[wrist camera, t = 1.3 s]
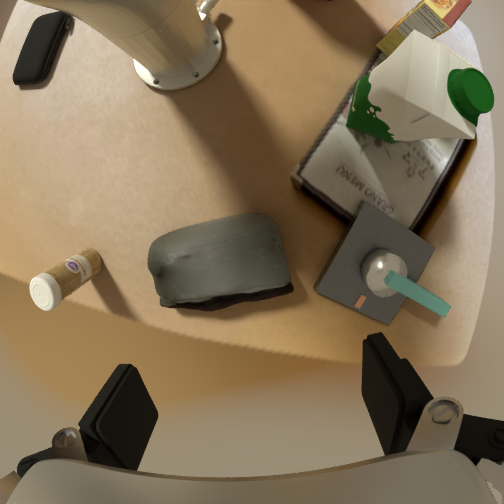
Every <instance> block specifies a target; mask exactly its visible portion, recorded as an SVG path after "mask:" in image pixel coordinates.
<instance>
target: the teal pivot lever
mask: <svg viewBox="0 0 504 504" xmlns="http://www.w3.org/2000/svg"><path fill="white" fill-rule="evenodd" d="M361 274H362V279H363V281H364V283H365V284H366V285H367V286H368V288H369V289H370V290H371V291H372V292H373V293H374V294H375V295H377V296H379V297H389V296H391V295H394V294H395V293H397V292H400V293H401V294H403V295H405V296H407V297H409V298H410V299H412V300H414V301H416V302H418V303H419V304H421V305H423V306H425V307H426V308H428V309H430V310H432V311H434V312H435V313H437V314H439V315H441V316H442V317H445V316H446V314H447V313H448V311H449V309H450V308H451V306H450V305H449V304H448V303H446V302H445V301H444V300H443V299H442V298H440V297H438V296H437V295H435V294H433V293H432V292H430V291H429V290H427V289H425V288H424V287H422V286H420V285H419V284H417V283H415V282H414V281H412V280H411V279H409V278H407V267H406V264H405V262H404V261H403V260H402V259H401V258H400V257H399V256H397V255H396V254H394V253H393V252H392V251H390V250H387V249H379V250H376V251H374V252H372V253H371V254H370V255H369V256H368V257H367V258H366V259H365V261H364V263H363V266H362V271H361Z"/></svg>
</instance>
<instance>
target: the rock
mask: <svg viewBox="0 0 504 504" xmlns="http://www.w3.org/2000/svg"><path fill="white" fill-rule="evenodd" d="M282 243H283V239H282V238H281V236H280V235H279V233H278V228H277V226H276V224H275V223H274V222H273V220H272V219H270V218H269V217H268V216H266V215H263V214H255V213H248V214H239V215H233V216H228V217H224V218H220V219H216V220H212V221H208V222H204V223H200V224H196V225H192V226H188V227H184V228H181V229H177V230H174V231H172V232H169V233H167V234H165V235H163V236H161V237H159V238H157V239H156V240H155V241H154V242H153V243H152V244H151V247H150V249H149V254H148V269H149V271H150V272H151V274H152V276H153V279H154V283H155V288H156V292H157V294H158V295H159V296H160V305H161V306H162V307H168V308H186V309H193V310H202V311H215V310H220V309H223V308H226V307H229V306H231V305H233V304H237V303H241V302H248V301H251V302H252V301H259V300H264V299H269V298H272V297H276V296H281V295H285V294H289V293H291V292H293V291H294V288H293V285H292V283H291V282H290V279H291V278H290V274H289V272H288V270H287V264H288V260H287V257H286V254H285V252H284V250H283V248H282Z"/></svg>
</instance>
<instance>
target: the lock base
mask: <svg viewBox="0 0 504 504" xmlns="http://www.w3.org/2000/svg"><path fill="white" fill-rule="evenodd" d="M379 249H387V250H390V251H392V252H393V253H394V254H396V255H397V256H399V257H400V258H401V259H402V260H403V261H404V262H405V264H406V267H407V278H409V279H411V280H412V281H414V282H415V283H416V281H417V279H418V278H419V276H420V274H421V273H422V271H423V269H424V267H425V266H426V264H427V262H428V260H429V258H430V257H431V255H432V253H433V251H434V249H435V248H434V247H433V246H432V245H430V244H429V243H428V242H426V241H425V240H423V239H422V238H420V237H419V236H418V235H416V234H415V233H413V232H412V231H410V230H409V229H407V228H406V227H404V226H403V225H401V224H400V223H398V222H397V221H395V220H394V219H392V218H391V217H389V216H388V215H386V214H385V213H383V212H382V211H380V210H378V209H377V208H375V207H374V206H372V205H370V204H369V203H367V202H366V201H363V200H362V201H361V203H360V205H359V206H358V208H357V210H356V212H355V214H354V216H353V218H352V220H351V222H350V223H349V225H348V227H347V229H346V231H345V233H344V234H343V236H342V238H341V240H340V242H339V243H338V245H337V247H336V249H335V251H334V252H333V254H332V256H331V258H330V259H329V261H328V263H327V265H326V266H325V268H324V270H323V271H322V273H321V275H320V277H319V278H318V280H317V282H316V283H315V285H314V290H315V291H316V292H318V293H320V294H322V295H324V296H326V297H329V298H331V299H333V300H335V301H337V302H339V303H341V304H344V305H346V306H348V307H350V308H352V309H354V310H356V311H359V312H361V313H363V314H365V315H367V316H369V317H371V318H374V319H376V320H378V321H380V322H382V323H384V324H387V325H389V323H390V322H391V320H392V319H393V317H394V316H395V314H396V313H397V311H398V310H399V308H400V307H401V305H402V304H403V302H404V301H405V299H406V297H407V296H405V295H403V294H401V293H400V292H397V293H395V294H394V295H391V296H389V297H379V296H377V295H375V294H374V293H373V292H372V291H371V290H370V289H369V288H368V286H367V285H366V284H365V283H364V281H363V279H362V274H361V271H362V266H363V263H364V261H365V259H366V258H367V257H368V256H369V255H370V254H371V253H372V252H374V251H376V250H379Z"/></svg>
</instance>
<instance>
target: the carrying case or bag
mask: <svg viewBox="0 0 504 504" xmlns="http://www.w3.org/2000/svg"><path fill="white" fill-rule="evenodd" d="M70 16H71V15H70V14H67V13H65V12H62V11H58V12H53V13H49V14H45V15H42V16H40V17H38V18H37V19H36V20H35V21H34V22H33V24H32V26H31V28H30V31H29V33H28V35H27V37H26V40H25V42H24V45H23V47H22V50H21V52H20V55H19V58H18V61H17V63H16V66H15V69H14V73H13V82H14V84H15V85H25V84H36V83H39V82H41V81H42V80H43V79H44V78H45V77H46V76H47V74H48V72H49V69H50V66H51V64H52V61H53V58H54V56H55V53H56V50H57V48H58V45H59V43H60V40H61V38H62V36H63V33H64V31H65V30H66V31H68V29H69V24H70V20H71V18H70Z"/></svg>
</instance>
